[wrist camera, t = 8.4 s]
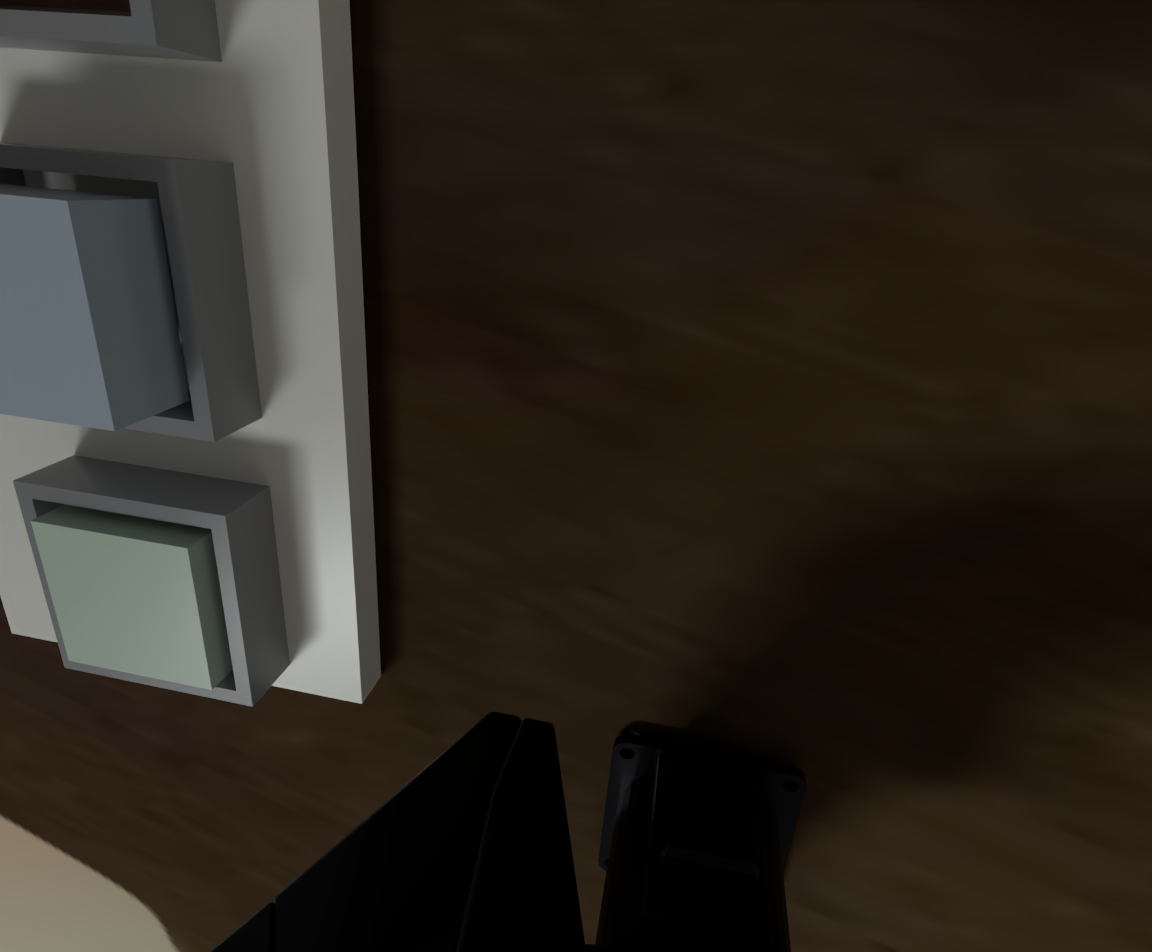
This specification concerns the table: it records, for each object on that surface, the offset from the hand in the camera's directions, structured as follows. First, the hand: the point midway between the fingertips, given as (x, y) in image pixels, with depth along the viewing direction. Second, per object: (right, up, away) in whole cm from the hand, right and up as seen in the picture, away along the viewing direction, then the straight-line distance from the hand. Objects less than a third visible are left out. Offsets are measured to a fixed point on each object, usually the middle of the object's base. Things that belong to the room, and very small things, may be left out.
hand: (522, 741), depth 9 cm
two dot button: (-12, +8, +9) cm, 17 cm away
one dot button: (-12, 0, +14) cm, 18 cm away
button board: (-12, +9, +12) cm, 19 cm away
